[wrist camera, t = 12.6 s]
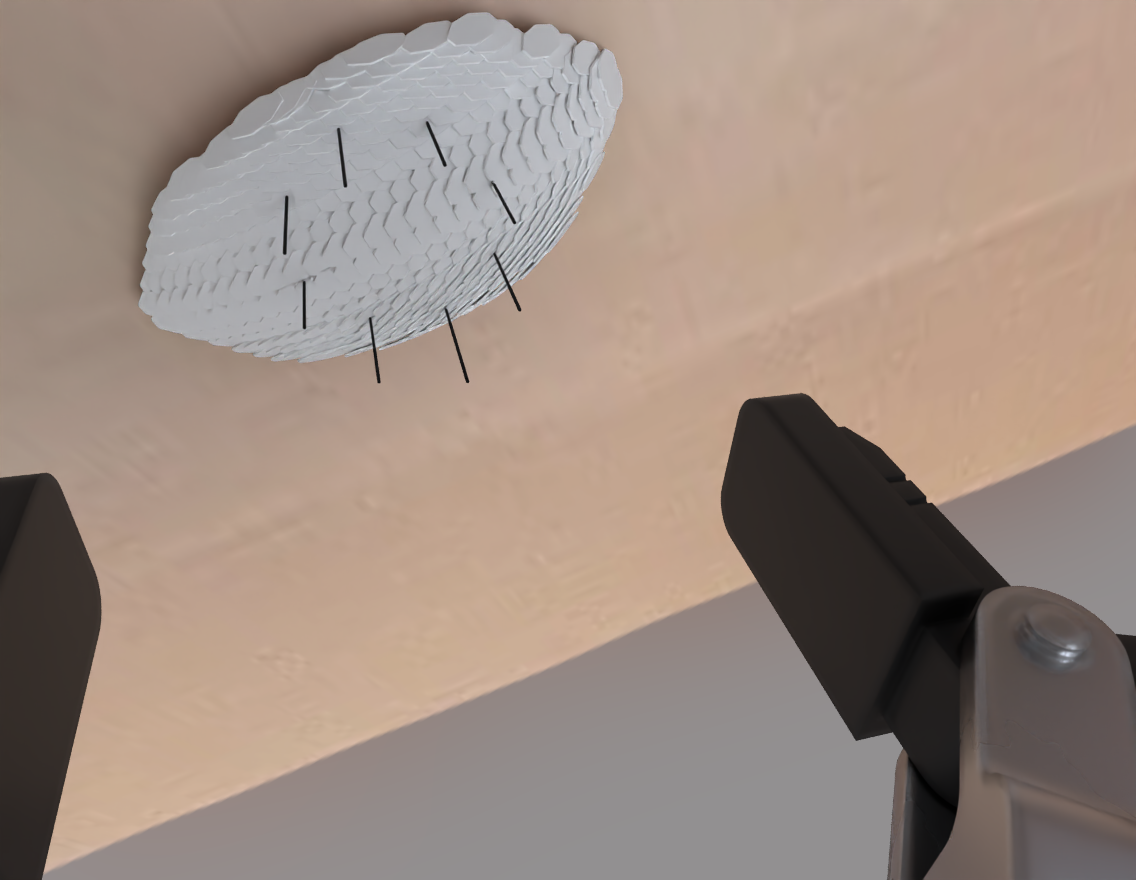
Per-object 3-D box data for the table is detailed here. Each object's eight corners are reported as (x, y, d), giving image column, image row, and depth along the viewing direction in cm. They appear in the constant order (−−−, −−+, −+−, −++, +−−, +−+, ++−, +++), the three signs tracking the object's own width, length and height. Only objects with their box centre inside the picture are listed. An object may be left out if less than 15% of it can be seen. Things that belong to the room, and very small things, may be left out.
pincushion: (234, 396, 21) (216, 548, 16) (50, 189, 17) (-37, 315, 13) (654, 181, 20) (751, 279, 16) (563, -84, 16) (658, -51, 12)
